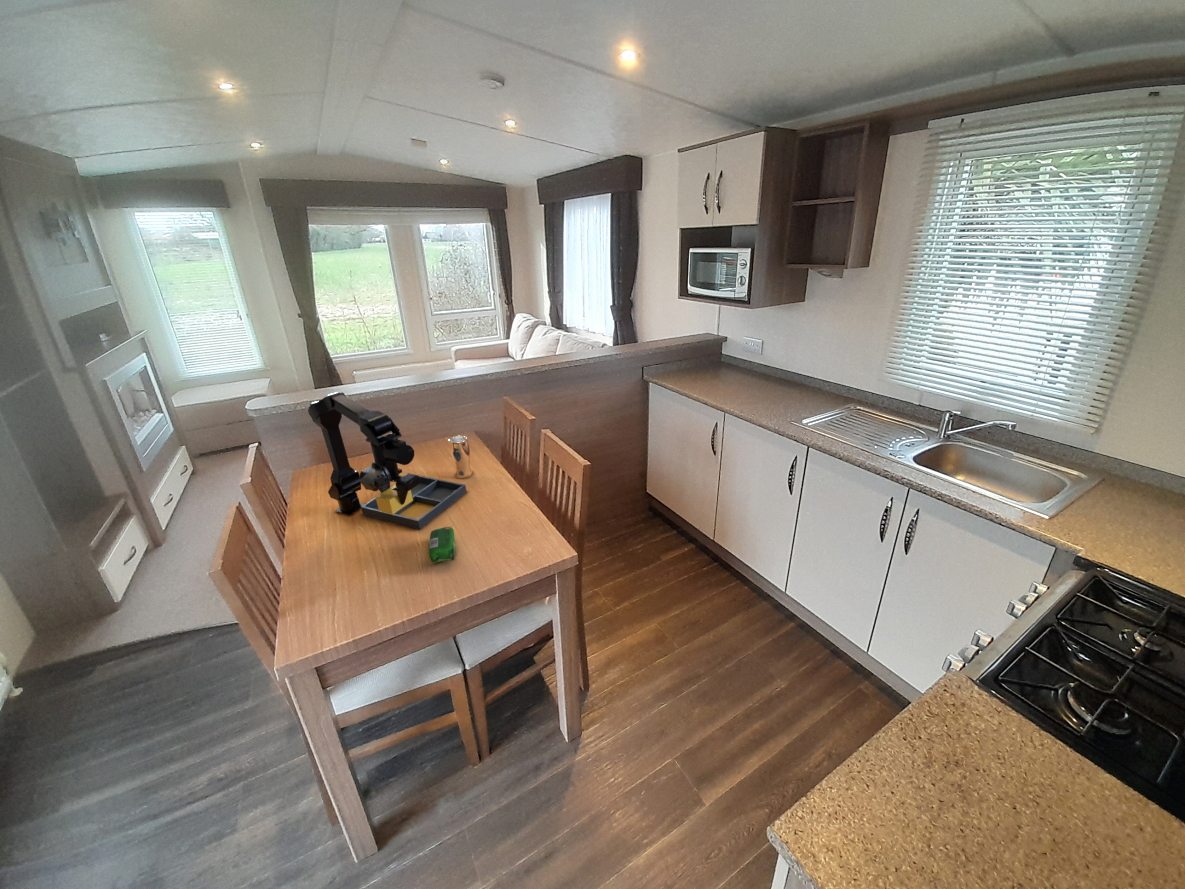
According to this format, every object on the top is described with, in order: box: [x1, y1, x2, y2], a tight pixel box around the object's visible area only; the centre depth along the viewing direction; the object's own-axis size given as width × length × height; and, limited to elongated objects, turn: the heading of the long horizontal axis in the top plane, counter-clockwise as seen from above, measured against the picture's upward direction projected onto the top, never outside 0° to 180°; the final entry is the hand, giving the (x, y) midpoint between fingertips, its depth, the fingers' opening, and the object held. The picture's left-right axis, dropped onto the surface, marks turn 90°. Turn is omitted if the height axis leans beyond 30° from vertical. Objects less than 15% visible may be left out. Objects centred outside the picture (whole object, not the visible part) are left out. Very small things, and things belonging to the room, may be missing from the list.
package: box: [375, 483, 413, 515], centre depth 145 cm, size 6×8×5 cm, turn 156°
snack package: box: [428, 526, 456, 564], centre depth 138 cm, size 7×16×5 cm, turn 15°
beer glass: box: [448, 435, 473, 479], centre depth 180 cm, size 7×7×15 cm
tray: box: [360, 473, 468, 530], centre depth 164 cm, size 24×24×3 cm
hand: (395, 502), depth 145 cm, fingers closed on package, 5 cm apart
